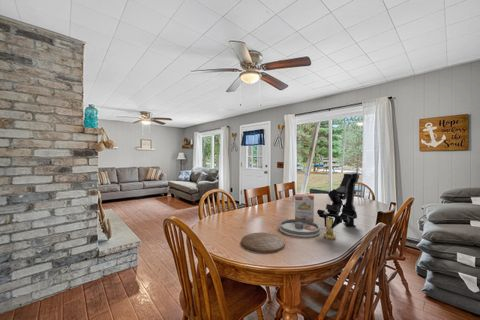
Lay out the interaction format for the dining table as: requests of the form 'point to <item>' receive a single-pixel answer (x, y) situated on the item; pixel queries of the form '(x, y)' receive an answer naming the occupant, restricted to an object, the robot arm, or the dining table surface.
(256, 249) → the trivet
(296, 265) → the dining table surface
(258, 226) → the dining table surface
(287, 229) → the round grey tray
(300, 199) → the cracker box
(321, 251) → the dining table surface
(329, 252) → the dining table surface
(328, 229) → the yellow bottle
